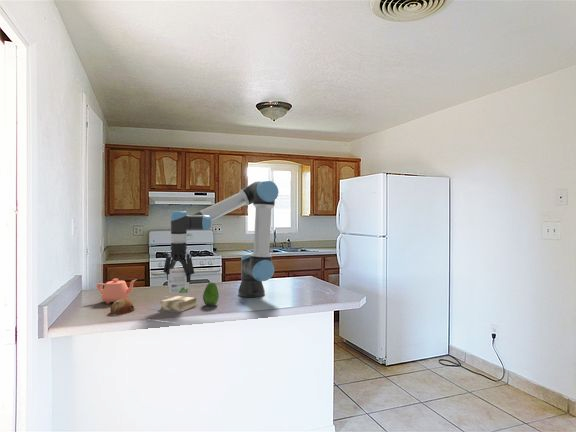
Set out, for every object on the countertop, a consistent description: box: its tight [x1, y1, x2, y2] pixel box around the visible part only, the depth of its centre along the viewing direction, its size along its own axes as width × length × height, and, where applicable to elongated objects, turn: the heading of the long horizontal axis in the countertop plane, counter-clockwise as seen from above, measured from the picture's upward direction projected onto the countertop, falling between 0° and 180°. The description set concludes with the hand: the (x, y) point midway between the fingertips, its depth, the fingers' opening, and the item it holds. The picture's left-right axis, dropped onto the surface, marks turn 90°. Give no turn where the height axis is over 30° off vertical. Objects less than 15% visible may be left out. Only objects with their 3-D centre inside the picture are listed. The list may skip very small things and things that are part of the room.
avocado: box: [202, 282, 220, 307], centre depth 194 cm, size 8×8×12 cm
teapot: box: [96, 278, 138, 305], centre depth 203 cm, size 13×20×12 cm, turn 101°
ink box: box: [169, 267, 189, 294], centre depth 189 cm, size 8×5×12 cm, turn 108°
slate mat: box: [148, 304, 198, 314], centre depth 190 cm, size 18×16×1 cm
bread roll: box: [109, 299, 136, 315], centre depth 182 cm, size 10×10×8 cm
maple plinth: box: [160, 295, 197, 313], centre depth 189 cm, size 12×12×4 cm
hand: (178, 287), depth 189 cm, fingers closed on ink box, 9 cm apart
